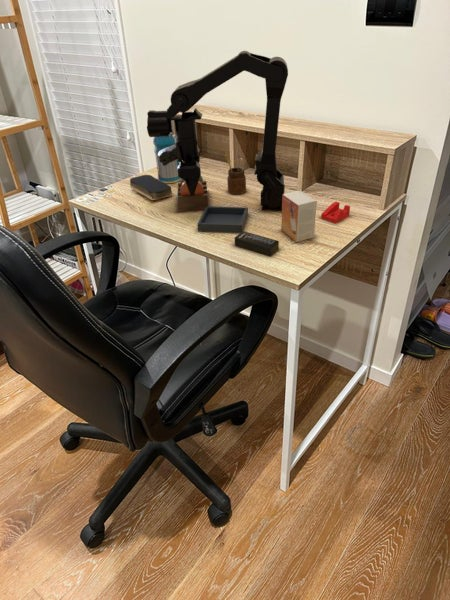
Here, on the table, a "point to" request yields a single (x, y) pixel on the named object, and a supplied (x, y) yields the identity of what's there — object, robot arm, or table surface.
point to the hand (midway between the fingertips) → (192, 189)
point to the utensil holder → (236, 178)
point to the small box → (298, 215)
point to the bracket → (335, 213)
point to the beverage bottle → (171, 169)
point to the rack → (192, 200)
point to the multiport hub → (257, 243)
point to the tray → (223, 219)
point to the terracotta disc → (185, 190)
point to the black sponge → (150, 187)
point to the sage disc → (199, 180)
